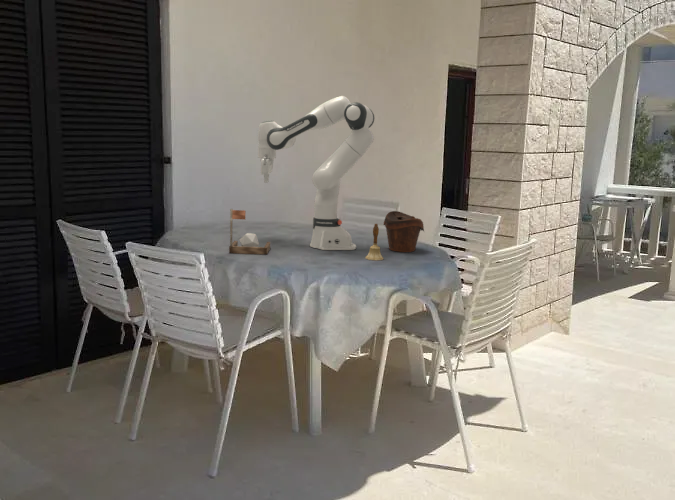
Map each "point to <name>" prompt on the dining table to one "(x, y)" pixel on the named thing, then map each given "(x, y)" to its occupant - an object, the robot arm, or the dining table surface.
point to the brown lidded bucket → (402, 231)
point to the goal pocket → (234, 246)
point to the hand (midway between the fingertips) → (266, 182)
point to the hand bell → (375, 247)
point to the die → (249, 240)
